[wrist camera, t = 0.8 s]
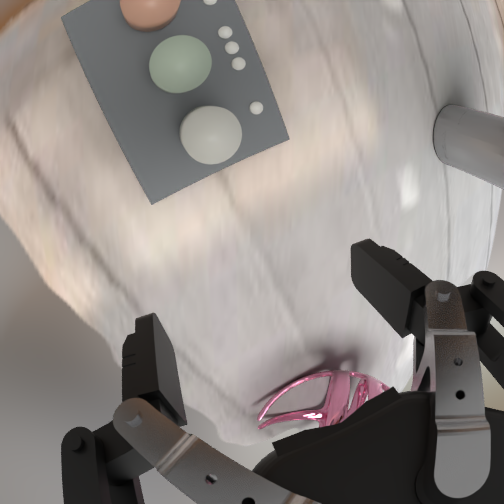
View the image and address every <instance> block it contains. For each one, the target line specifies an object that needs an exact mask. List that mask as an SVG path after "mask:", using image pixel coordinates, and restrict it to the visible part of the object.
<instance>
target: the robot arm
mask: <svg viewBox="0 0 504 504" xmlns="http://www.w3.org/2000/svg"><path fill="white" fill-rule="evenodd" d="M434 146H435V150H436V153H437V155H438V157H439V159H440V160H441V161H442V162H443V163H445V164H447V165H450V166H452V167H455V168H457V169H459V170H462V171H464V172H466V173H469V174H471V175H473V176H476V177H478V178H480V179H482V180H485V181H487V182H489V183H491V184H493V185H495V186H498V187H500V188H502V189H504V117H501V116H497V115H494V114H490V113H486V112H483V111H479V110H475V109H471V108H466V107H462V106H457V105H448V106H446V107H445V108H443V109H442V111H441V112H440V114H439V115H438V117H437V120H436V123H435V128H434ZM351 277H352V281H353V284H354V286H355V287H356V289H357V290H358V291H359V292H360V293H361V294H362V295H363V296H364V297H365V298H366V299H367V300H368V302H369V303H370V304H371V305H372V306H373V307H374V308H375V309H376V310H377V311H378V312H379V313H380V314H381V316H382V317H383V318H384V319H385V320H386V321H387V322H388V323H389V324H390V325H391V326H392V328H393V329H394V330H395V331H396V332H397V333H398V334H399V335H400V336H401V338H404V337H406V336H407V335H409V334H411V333H412V334H413V335H414V336H415V337H414V342H413V382H412V387H411V391H407V392H401V393H398V392H397V391H396V389H395V388H394V387H391V388H390V389H388V390H386V391H384V392H383V393H381V394H379V395H377V396H375V397H374V398H372V399H370V400H368V401H366V402H365V403H364V404H363V405H362V406H360V407H359V408H358V409H357V410H356V411H355V412H353V413H352V414H351V415H350V416H349V417H347V418H346V419H345V420H344V421H342V422H341V423H338V424H334V425H329V426H324V427H319V428H314V429H308V430H304V431H301V432H299V433H297V434H294V435H291V436H289V437H286V438H283V439H281V440H278V441H276V442H273V443H272V444H273V446H274V449H275V450H274V451H272V452H271V453H269V454H268V455H267V456H266V457H264V458H263V459H262V460H261V461H260V462H259V463H258V464H257V465H256V466H255V468H254V469H253V470H252V471H251V470H249V469H247V468H245V467H244V466H242V465H240V464H238V463H237V462H235V461H234V460H232V459H230V458H229V457H227V456H226V455H224V454H222V453H221V452H219V451H218V450H216V449H215V448H212V447H211V446H210V445H208V444H207V443H206V442H204V441H203V440H201V439H200V438H198V437H197V436H195V435H193V434H188V433H187V432H185V431H184V430H183V429H181V428H180V426H184V425H187V420H186V415H185V410H184V404H183V399H182V394H181V388H180V382H179V377H178V371H177V364H176V358H175V353H174V349H173V346H172V344H171V341H170V339H169V337H168V336H167V334H166V332H165V330H164V328H163V326H162V325H161V323H160V321H159V319H158V317H157V315H156V314H155V313H151V314H148V315H145V316H142V317H139V318H136V320H135V333H133V334H130V335H128V336H127V338H126V340H125V342H124V344H123V349H122V358H123V359H122V367H123V368H122V403H121V404H120V405H119V406H118V407H117V409H116V410H115V412H114V415H113V420H112V421H111V422H110V423H108V424H106V425H104V426H103V427H101V428H99V429H97V430H95V431H93V432H91V431H90V430H89V429H87V428H85V427H76V428H73V429H71V430H70V431H69V432H68V433H67V434H66V435H65V436H64V438H63V441H62V444H61V462H62V482H63V483H62V484H63V497H64V504H145V503H144V499H143V494H142V490H141V485H140V480H139V475H141V474H143V473H145V472H147V471H148V470H150V469H152V468H154V467H155V468H156V469H157V471H158V472H159V473H160V474H161V475H162V476H163V477H165V479H167V480H168V481H169V482H170V483H171V484H173V485H174V486H175V487H176V488H177V489H179V490H180V491H181V492H183V493H184V494H185V495H186V496H188V497H189V498H190V499H192V500H193V501H194V502H196V503H197V504H504V411H500V410H496V409H492V408H487V407H484V393H483V383H482V374H481V366H480V361H481V362H482V363H483V365H484V366H485V367H486V368H487V369H488V371H489V372H490V373H491V374H492V375H493V377H494V378H495V379H496V380H497V382H498V383H499V384H500V385H501V386H502V388H503V389H504V337H503V336H502V335H501V334H500V333H499V332H498V331H497V330H496V329H495V328H494V327H493V326H492V325H491V324H490V320H491V318H492V316H493V317H494V318H495V319H496V320H497V321H498V322H499V323H500V324H501V325H502V326H503V327H504V281H503V280H502V279H501V278H500V277H498V276H497V275H496V274H494V273H492V272H489V271H479V272H477V273H475V275H474V276H473V280H472V283H471V284H469V285H465V286H460V287H456V286H455V285H454V284H452V283H450V282H448V281H444V280H436V281H432V280H431V279H430V278H428V277H427V276H426V275H425V274H424V273H422V272H421V271H420V270H419V269H417V268H416V267H415V266H414V265H412V264H411V263H409V261H407V260H406V259H405V258H403V257H402V256H401V255H400V254H398V253H397V252H396V251H395V250H392V249H390V248H387V247H384V246H381V247H380V246H379V245H377V244H376V243H375V242H374V241H372V240H371V239H365V240H363V241H360V242H357V243H355V244H352V246H351Z"/></svg>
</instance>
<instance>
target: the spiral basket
mask: <svg viewBox="0 0 504 504" xmlns="http://www.w3.org/2000/svg"><path fill="white" fill-rule="evenodd" d="M325 376H331V379H330V383H329V387H328V391H327V396H326V400H325V404H324V406H323V407H322V408H321V409H318V410H303V411H295V412H290V413H286V414H282V415H279V416H276V417H273V418H271V419H269V420H267V421H265V422H263V423H262V424H261V425H259V426H258V429H262V428H264V427H266V426H269V425H271V424H275V423H279V422H284V421H292V420H316V421H318V422H319V427H324V426H329V425H334V424H338V423H341V422H342V421H344V420H345V419H346V418H347V417H349V416H350V415H351V414H352V413H353V412H355V411H356V410H357V409H358V408H359V407H360V406H362V405H363V404H364V403H365V400H366V397H367V395H368V400H370V399H372V398H374V397H375V396H377V395H379V394H381V393H383V391H386V390H388V389H390V387H388V386H387V385H385V384H384V383H383V382H381V381H380V380H378V379H376V378H375V377H372V376H370V375H366V374H363V373H359V372H354V371H348V370H330V371H323V372H318V373H314V374H310V375H307V376H305V377H302V378H300V379H298V380H296V381H294V382H292V383H290V384H288V385H287V386H285V387H284V388H282V389H281V390H280V391H279V392H277V393H276V394H275V395H274V396H273V397H272V398H271V399H270V400H269V401H268V402H267V403H266V404H265V406H264V407H263V408H262V410H261V411H260V413H259V415H258V417H257V421H260V420H261V419H262V418H263V416H264V415H265V413H266V412H267V410H268V409H269V408H270V407H271V405H272V404H273V403H274V402H275V401H276V400H277V399H278V398H279V397H281V396H282V395H283V394H284V393H286V392H287V391H289V390H290V389H292V388H293V387H295V386H297V385H299V384H301V383H304V382H306V381H309V380H312V379H315V378H319V377H325ZM350 377H355V378H359V379H360V381H359V383H358V385H357V388H356V390H355V393H354V396H353V400H352V403H351V406H350V409H349V410H348V404H349V393H350ZM382 390H383V391H382Z"/></svg>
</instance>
